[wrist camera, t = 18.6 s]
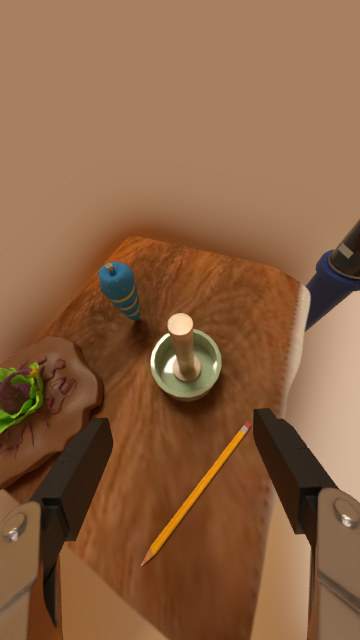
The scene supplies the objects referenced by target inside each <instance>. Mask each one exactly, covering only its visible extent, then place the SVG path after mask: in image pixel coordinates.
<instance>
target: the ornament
mask: <svg viewBox="0 0 360 640" xmlns="http://www.w3.org/2000/svg"><path fill="white" fill-rule="evenodd" d="M106 262H107V261H106ZM98 275H99V278H100V286H101V290H102V292H103V293H104V295H105V296H106V297H108V298H109V299H110V300H111V302H112V304H114V305H115V306H117V307H119V309H120V311H121V312H122V313H124V314H126V316H127V317H128V318H129V319H132V320H135V321H139V318H140V313H141V308H140V305H139V299H138V296H137V287H136V284H135V282H134V275H133V272H132V270H131V269H130V268H129V267H128V266H127V265H126V264H124V263H121V262H111V263H108V264H107V263H106V265H105V266H103V267H102V268H101V269H100V270H99V273H98Z"/></svg>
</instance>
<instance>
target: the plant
mask: <svg viewBox="0 0 360 640" xmlns="http://www.w3.org/2000/svg"><path fill="white" fill-rule="evenodd" d="M102 399H103V382H102V380H101V378H100V377H99V375H98V374H97V373H96V372H95V371H94V370H93V369H91V368H90V367H89V365H88V364H87V362H86V361H85V359H84V358H83V356H82V354H81V351H80V347H79V345H77V344H76V343H74V342H72V341H69V340H67V339H65V338H62V337H52V336H46V337H45V338H44V339H43V340H42V341H40V342H39V343H37V344H35V345H32V346H28V347H22V348H21V349H19V350H18V351H16V352H15V353H14V354H13V355H12V356H11V357H9V358H8V359H7V360H5V361H4V362H3V363H1V364H0V490H1V489H4V488H7V487H9V486H10V485H12V484H13V483H14V482H15V481H17V480H18V479H19V478H20V477H22V476H23V475H24V474H26V473H28V472H31V471H33V470H35V469H37V468H38V467H40V466H41V465H42V464H44V463H45V462H46V461H47V460H49V459H50V458H51V457H52V456H53V455H54V454H55V453H57V452H63V451H64V449H65V448H66V446H67V445H68V443H69V442H70V440H71V439H72V438H73V437H74V436H75V435H76V434H78V433H79V432H80V431H81V430H85V429H86V427H87V426H88V424H89V422H90V413H91V411H92V409H94V408H96V407H98V406H100V405H101V403H102Z"/></svg>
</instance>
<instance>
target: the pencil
mask: <svg viewBox="0 0 360 640" xmlns="http://www.w3.org/2000/svg"><path fill="white" fill-rule="evenodd" d="M250 427H251V425H250V424H249V423H248V422H246V423H245V424H244V425H243V427H242V428H241V429H240V431H239V432H238V433H237V435H236V436H235V437H234V438H233V440H232V441H231V442H230V444H229V445H228V446H227V448H226V449H225V450H224V451H223V453H222V454H221V455H220V457H219V458H218V459H217V461H216V462H215V463H214V465H213V466H212V467H211V468H210V470H209V471H208V472H207V474H206V475H205V476H204V478H203V479H202V480H201V481H200V483H199V484H198V485H197V487H196V488H195V489H194V491H193V492H192V493H191V494H190V496H189V497H188V498H187V500H186V501H185V502H184V504H183V505H182V506H181V508H180V509H179V510H178V511H177V513H176V514H175V515H174V517H173V518H172V519H171V521H170V522H169V523H168V524H167V526H166V527H165V528H164V530H163V531H162V532H161V534H160V535H159V536H158V537H157V539H156V540H155V541H154V543H153V544H152V545H151V547H150V549H149V551H148V553H147V554H146V556H145V558H144V560H143V562H142V565H144V564H145V563H146V562H147V561H148V560H150V559H151V558H152V557H153V556H154V555H155V554H156V553H157V552H158V550H159V549H160V548H161V546H162V545H163V544H164V542H165V541H166V540H167V538H168V537H169V536H170V534H171V533H172V532H173V530H174V529H175V528H176V526H177V525H178V524H179V522H180V521H181V520H182V518H183V517H184V516H185V514H186V513H187V512H188V510H189V509H190V508H191V506H192V505H193V504H194V502H195V501H196V500H197V498H198V497H199V496H200V494H201V493H202V492H203V490H204V489H205V488H206V486H207V485H208V483H209V482H210V481H211V479H212V478H213V477H214V475H215V474H216V473H217V471H218V470H219V469H220V467H221V466H222V465H223V463H224V462H225V461H226V459H227V458H228V457H229V455H230V454H231V453H232V451H233V450H234V449H235V447H236V446H237V445H238V443H239V442H240V441H241V439H242V438H243V437H244V435H245V434H246V433H247V431H248V430H249V429H250ZM142 565H141V566H142Z"/></svg>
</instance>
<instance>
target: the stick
mask: <svg viewBox="0 0 360 640" xmlns="http://www.w3.org/2000/svg"><path fill="white" fill-rule="evenodd" d="M167 327H168V331H169V334H170V337H171V341H172V344H173V348H174V351H175V355H176V359H175V360H174V362H173V372H174V375H175V376H176V378H177V379H178V380H180V381H182V382H192V381H194V380H196V379H197V378H198V376H199V374H200V371H201V364H200V361H199V359H198V358H197V357H196V356H195V355H194V345H193V321H192V319H191V318H190V317H189V316H188V315H186V314H183V313H179V314H175V315H173V316H172V317H171V318H170V319H169V320H168V323H167Z"/></svg>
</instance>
